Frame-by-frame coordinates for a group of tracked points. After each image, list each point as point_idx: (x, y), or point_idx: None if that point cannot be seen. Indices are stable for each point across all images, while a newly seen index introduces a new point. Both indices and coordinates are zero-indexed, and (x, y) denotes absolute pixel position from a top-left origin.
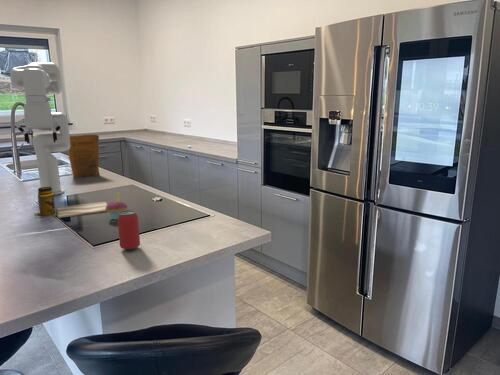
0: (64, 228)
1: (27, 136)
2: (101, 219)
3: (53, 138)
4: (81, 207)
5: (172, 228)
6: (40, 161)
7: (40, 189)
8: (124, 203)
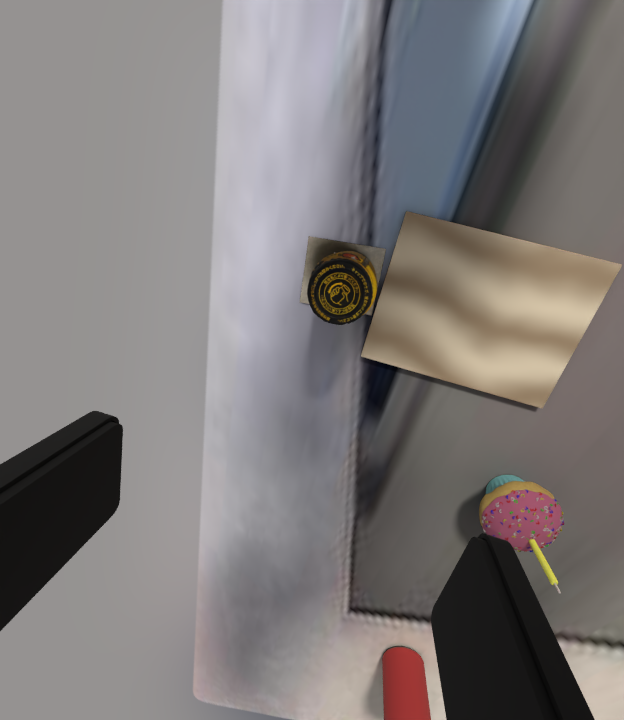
0: (340, 469)
1: (9, 609)
2: (459, 468)
3: (445, 688)
4: (480, 294)
5: None
6: None
7: (314, 308)
8: (556, 536)
